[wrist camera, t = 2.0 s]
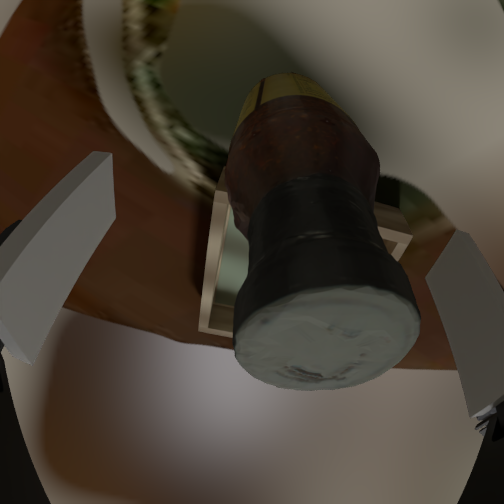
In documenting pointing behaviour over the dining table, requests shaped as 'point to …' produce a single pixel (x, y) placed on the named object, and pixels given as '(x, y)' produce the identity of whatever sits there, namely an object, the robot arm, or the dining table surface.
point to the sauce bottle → (312, 245)
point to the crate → (237, 258)
